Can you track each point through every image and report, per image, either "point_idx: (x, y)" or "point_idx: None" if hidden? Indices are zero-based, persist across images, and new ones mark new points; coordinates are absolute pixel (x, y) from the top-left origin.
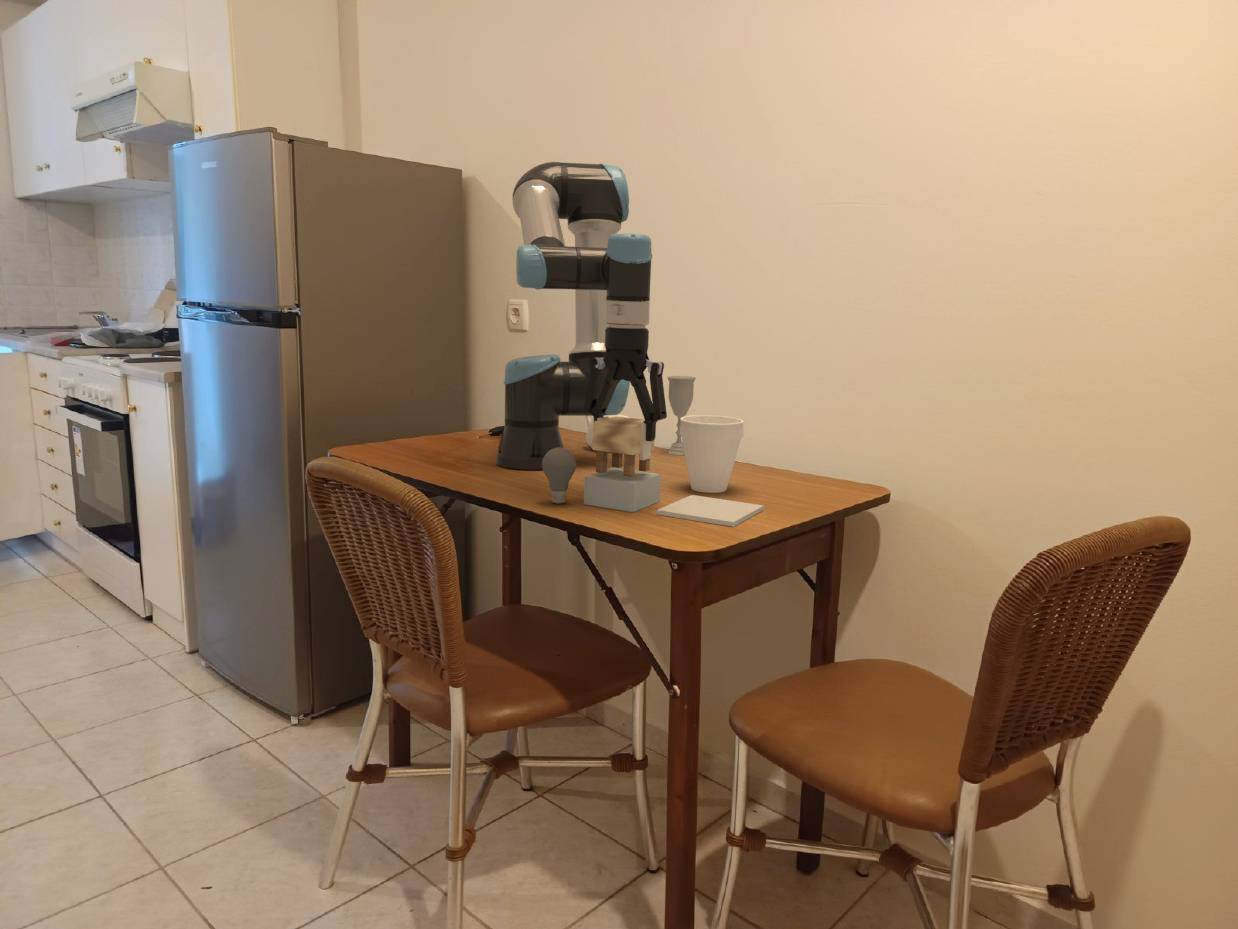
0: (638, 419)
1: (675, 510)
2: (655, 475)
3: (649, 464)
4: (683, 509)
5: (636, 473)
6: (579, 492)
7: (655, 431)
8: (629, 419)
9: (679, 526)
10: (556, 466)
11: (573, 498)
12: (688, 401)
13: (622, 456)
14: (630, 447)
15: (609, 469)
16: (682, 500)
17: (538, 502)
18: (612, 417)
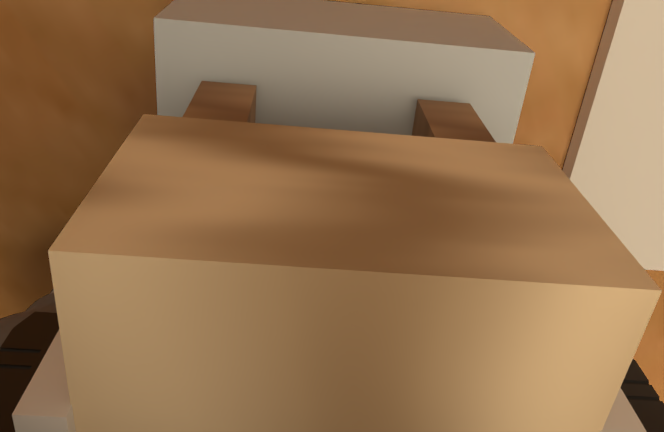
0: (431, 310)
1: (624, 234)
2: (511, 107)
3: (478, 118)
4: (656, 202)
5: (380, 114)
6: (20, 45)
7: (662, 406)
8: (331, 364)
9: (653, 349)
10: None
11: (85, 177)
12: None
13: (250, 112)
14: None
15: (170, 90)
16: (630, 37)
17: (18, 305)
18: (73, 345)
